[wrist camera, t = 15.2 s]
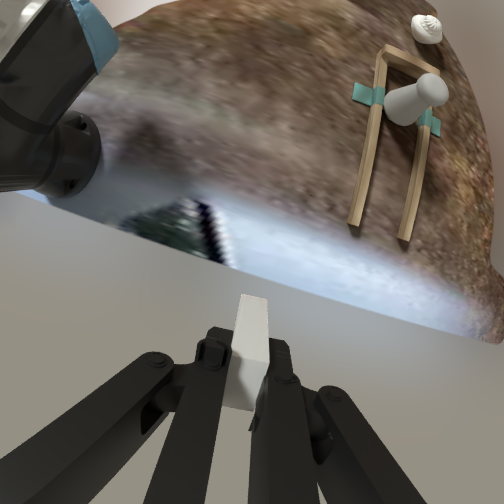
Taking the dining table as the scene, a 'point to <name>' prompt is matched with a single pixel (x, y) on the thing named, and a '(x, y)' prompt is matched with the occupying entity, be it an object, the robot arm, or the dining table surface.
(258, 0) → the dining table surface
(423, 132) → the guide rails
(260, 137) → the dining table surface
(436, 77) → the salt shaker
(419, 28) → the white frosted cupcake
